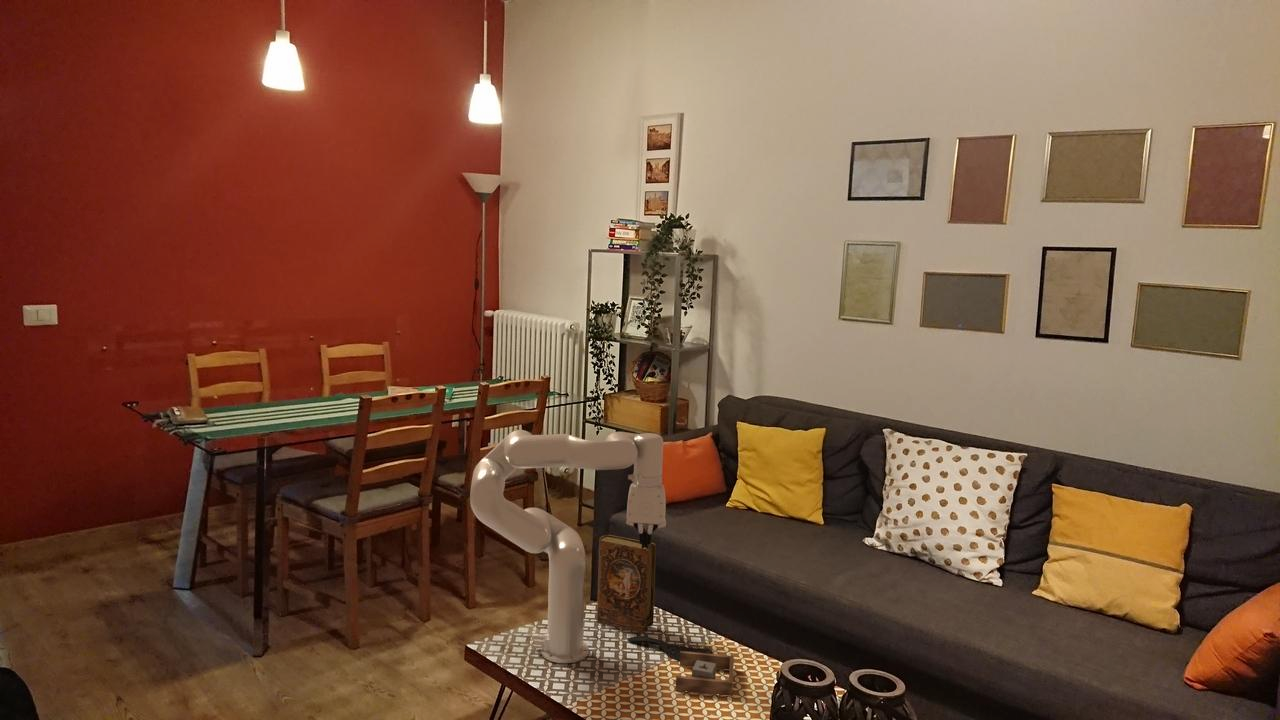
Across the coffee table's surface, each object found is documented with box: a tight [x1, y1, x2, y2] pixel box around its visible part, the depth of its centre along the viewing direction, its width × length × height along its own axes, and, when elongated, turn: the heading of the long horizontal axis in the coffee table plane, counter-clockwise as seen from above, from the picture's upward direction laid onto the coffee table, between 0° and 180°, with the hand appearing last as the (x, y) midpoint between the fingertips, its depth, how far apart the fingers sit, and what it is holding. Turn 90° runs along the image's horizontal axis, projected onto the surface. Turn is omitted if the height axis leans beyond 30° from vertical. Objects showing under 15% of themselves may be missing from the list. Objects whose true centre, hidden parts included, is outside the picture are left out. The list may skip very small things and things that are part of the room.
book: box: [596, 534, 657, 634], centre depth 240 cm, size 16×6×25 cm, turn 66°
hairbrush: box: [627, 635, 714, 663], centre depth 226 cm, size 8×4×25 cm
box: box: [675, 651, 735, 697], centre depth 211 cm, size 14×14×4 cm
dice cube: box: [691, 660, 717, 679], centre depth 209 cm, size 5×5×5 cm
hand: (645, 546), depth 223 cm, fingers closed
